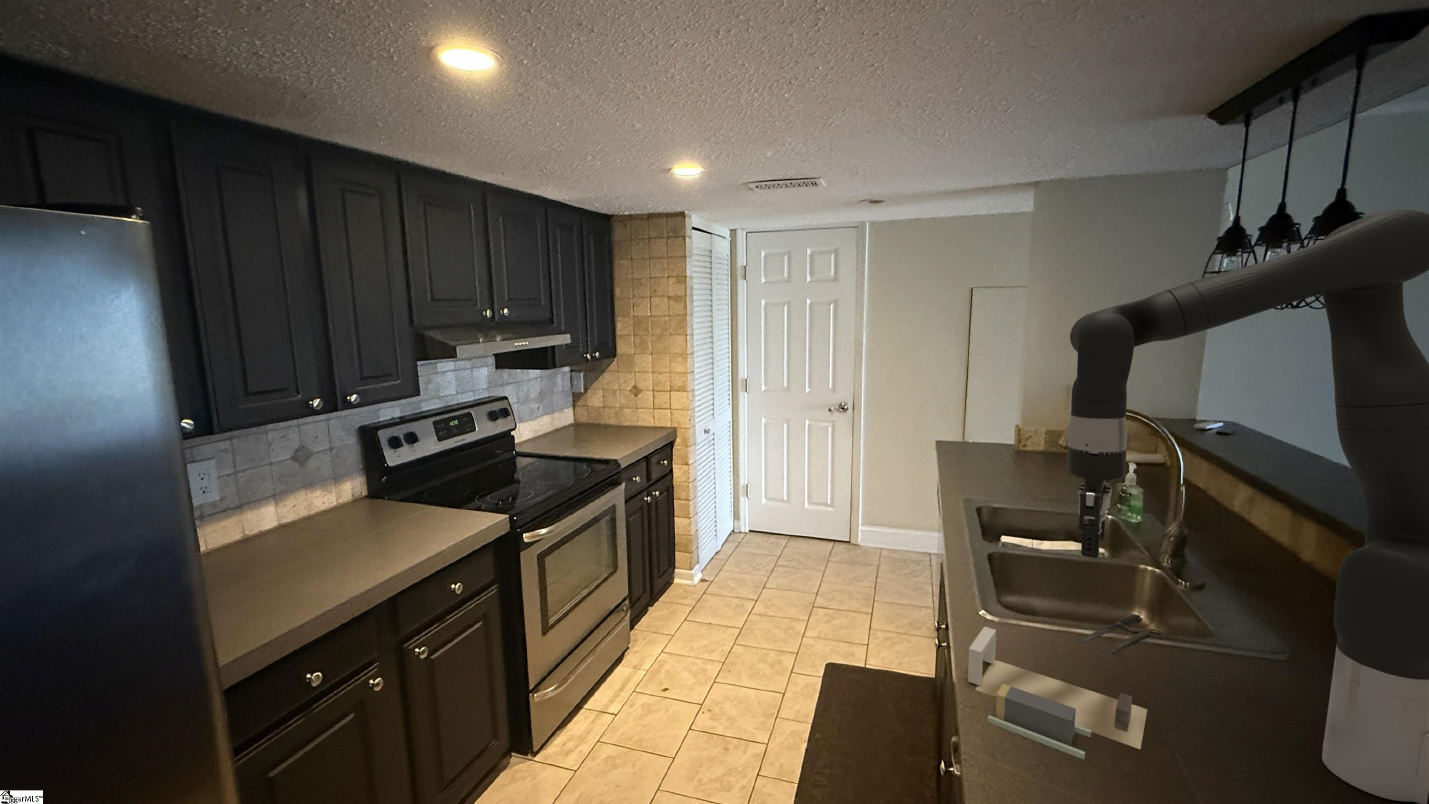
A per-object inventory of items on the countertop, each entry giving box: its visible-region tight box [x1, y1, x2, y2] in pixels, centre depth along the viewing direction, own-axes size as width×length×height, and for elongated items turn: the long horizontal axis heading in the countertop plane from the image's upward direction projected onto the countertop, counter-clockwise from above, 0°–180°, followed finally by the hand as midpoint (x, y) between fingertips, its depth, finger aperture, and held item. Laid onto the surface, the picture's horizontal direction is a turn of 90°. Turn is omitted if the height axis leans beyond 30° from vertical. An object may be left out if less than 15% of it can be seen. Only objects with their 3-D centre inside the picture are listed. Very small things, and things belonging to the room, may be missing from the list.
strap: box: [967, 626, 997, 686], centre depth 105 cm, size 2×9×6 cm, turn 140°
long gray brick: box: [995, 684, 1076, 747], centre depth 92 cm, size 10×3×4 cm, turn 50°
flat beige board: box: [975, 659, 1148, 750], centre depth 98 cm, size 23×11×4 cm, turn 50°
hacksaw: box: [1073, 613, 1164, 656], centre depth 114 cm, size 24×10×2 cm, turn 115°
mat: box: [987, 715, 1092, 760], centre depth 92 cm, size 13×6×1 cm, turn 50°
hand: (1093, 547), depth 93 cm, fingers open, 8 cm apart
